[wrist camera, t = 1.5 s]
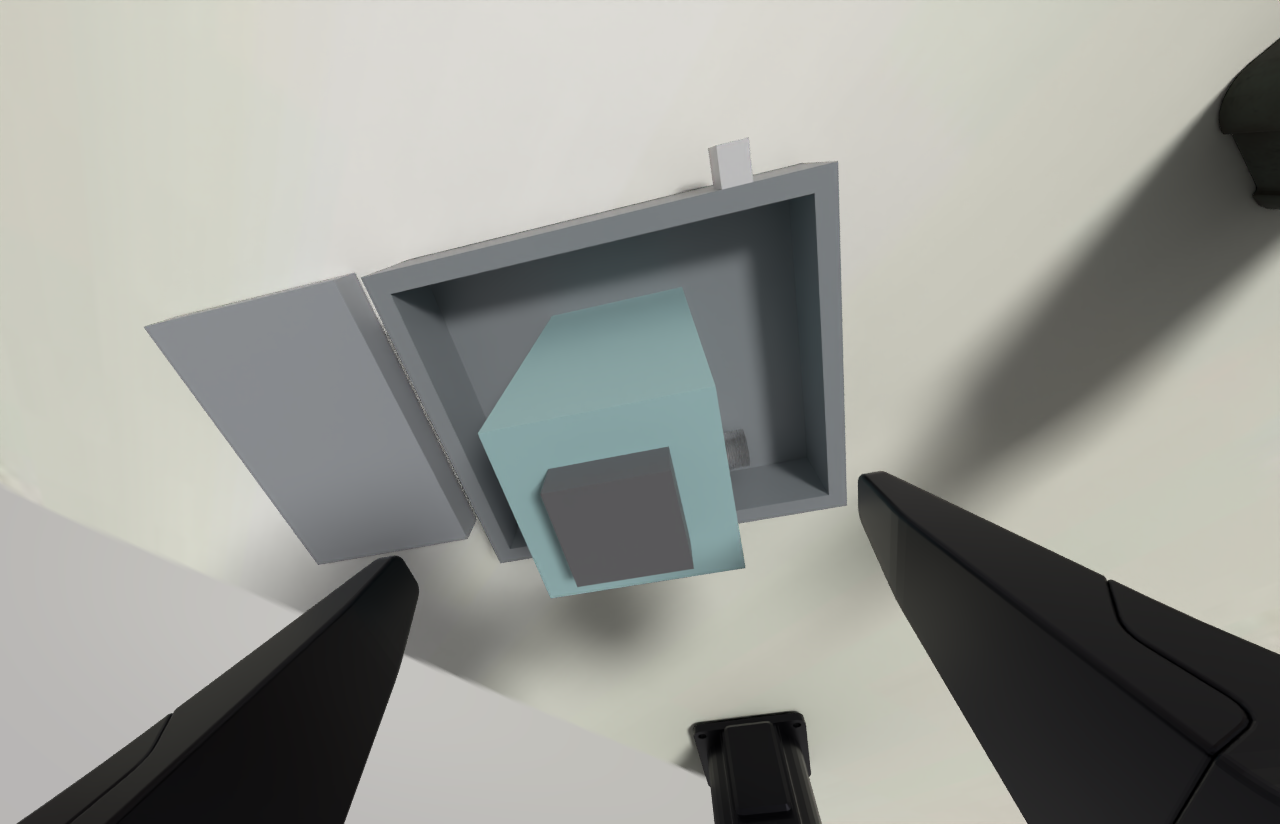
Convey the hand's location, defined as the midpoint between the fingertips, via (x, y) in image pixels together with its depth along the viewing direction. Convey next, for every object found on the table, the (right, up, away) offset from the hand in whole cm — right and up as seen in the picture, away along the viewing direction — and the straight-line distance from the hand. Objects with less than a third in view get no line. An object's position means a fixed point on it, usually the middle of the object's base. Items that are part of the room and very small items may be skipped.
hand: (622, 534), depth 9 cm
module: (0, +4, +8) cm, 9 cm away
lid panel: (-12, +2, +10) cm, 15 cm away
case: (0, +4, +8) cm, 9 cm away
